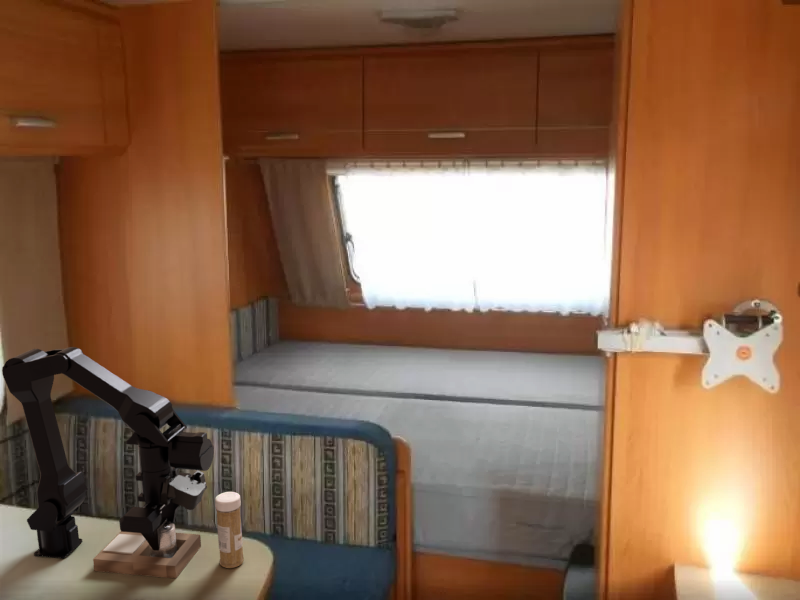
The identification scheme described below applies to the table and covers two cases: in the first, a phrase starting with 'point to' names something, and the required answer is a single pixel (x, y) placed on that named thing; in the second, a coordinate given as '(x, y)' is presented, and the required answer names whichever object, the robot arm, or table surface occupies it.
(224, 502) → the sprinkles bottle
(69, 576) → the table surface
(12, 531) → the table surface
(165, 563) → the block
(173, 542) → the plug
